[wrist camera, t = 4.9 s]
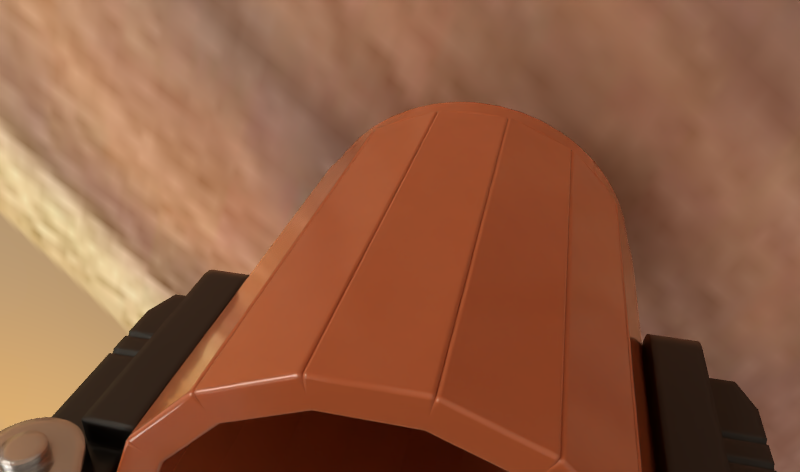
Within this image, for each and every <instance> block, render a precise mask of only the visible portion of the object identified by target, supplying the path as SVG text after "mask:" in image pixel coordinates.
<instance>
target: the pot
mask: <svg viewBox="0 0 800 472" xmlns="http://www.w3.org/2000/svg"><path fill="white" fill-rule="evenodd" d="M117 472H657V470H656V461H655V453H654V444H653V435H652V426H651V418H650V409H649V400H648V392H647V383H646V374H645V366H644V357H643V348H642V339H641V331H640V322H639V313H638V305H637V296H636V287H635V278H634V270H633V261H632V255H631V251H630V248H629V244H628V240H627V232H626V227H625V222H624V216H623V213H622V210H621V208H620V205H619V202H618V199H617V197H616V195H615V193H614V191H613V189H612V187H611V185H610V183H609V182H608V180H607V178H606V177H605V175H604V174H603V173H602V171H601V170H600V169H599V167H598V166H597V165H596V163H595V162H594V161H593V160H592V159H591V158H590V157H589V156H588V155H587V154H586V153H585V152H584V151H583V150H582V149H581V148H580V147H579V146H578V145H577V144H576V143H574V142H573V141H572V140H571V139H569V138H568V137H567V136H565V135H564V134H563V133H561V132H560V131H558V130H556V129H555V128H553V127H551V126H550V125H548V124H546V123H544V122H543V121H541V120H538V119H536V118H534V117H531V116H529V115H527V114H524V113H522V112H519V111H515V110H512V109H508V108H505V107H501V106H496V105H490V104H483V103H476V102H449V103H439V104H431V105H427V106H422V107H418V108H414V109H410V110H408V111H405V112H403V113H400V114H397V115H395V116H392V117H390V118H389V119H387V120H385V121H383V122H381V123H379V124H378V125H376V126H374V127H373V128H372V129H370V130H369V131H368V132H366V133H365V134H364V135H362V136H361V137H360V138H359V139H358V140H357V141H356V142H355V143H354V144H353V145H352V146H351V147H350V148H349V149H348V150H347V151H346V152H345V153H344V155H343V156H342V158H340V159H339V160H338V161H337V162H336V163H335V164H334V165H332V166H331V167H330V169H329V170H328V171H327V173H326V174H325V175H324V177H323V178H322V179H321V181H320V182H319V183H318V185H317V186H316V187H315V189H314V190H313V191H312V193H311V194H310V195H309V197H308V198H307V199H306V201H305V202H304V203H303V205H302V206H301V207H300V209H299V210H298V211H297V213H296V214H295V215H294V217H293V218H292V219H291V221H290V222H289V223H288V225H287V226H286V227H285V229H284V230H283V231H282V233H281V234H280V235H279V237H278V238H277V239H276V241H275V242H274V243H273V245H272V246H271V247H270V249H269V250H268V251H267V253H266V254H265V255H264V257H263V258H262V259H261V261H260V262H259V263H258V265H257V266H256V267H255V269H254V270H253V271H252V273H251V274H250V275H249V277H248V278H247V279H246V281H245V282H244V283H243V285H242V286H241V287H240V289H239V290H238V291H237V293H236V294H235V295H234V297H233V298H232V299H231V301H230V302H229V303H228V305H227V306H226V307H225V309H224V310H223V311H222V313H221V314H220V315H219V317H218V318H217V319H216V321H215V322H214V323H213V325H212V326H211V327H210V329H209V330H208V331H207V333H206V334H205V335H204V337H203V338H202V339H201V341H200V342H199V343H198V345H197V346H196V347H195V349H194V350H193V351H192V353H191V354H190V355H189V357H188V358H187V359H186V361H185V362H184V363H183V365H182V366H181V367H180V369H179V370H178V371H177V373H176V374H175V375H174V377H173V378H172V379H171V381H170V382H169V383H168V385H167V386H166V387H165V389H164V390H163V391H162V393H161V394H160V395H159V397H158V398H157V399H156V401H155V402H154V403H153V405H152V406H151V407H150V409H149V410H148V411H147V413H146V414H145V415H144V417H143V418H142V419H141V421H140V422H139V423H138V425H137V426H136V427H135V429H134V430H133V431H132V433H131V434H130V436H129V437H128V438H127V440H126V442H125V445H124V448H123V452H122V455H121V458H120V462H119V465H118V468H117Z"/></svg>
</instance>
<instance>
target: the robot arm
mask: <svg viewBox="0 0 800 472" xmlns="http://www.w3.org/2000/svg"><path fill="white" fill-rule="evenodd" d="M248 277H249V275H245V274H238V273H231V272H225V271H218V270H209V271H208V272H206V273H205V274H204V275H203V277H202V278H201V279H200V280H199V281H198V283H197V284H196V285H195V286H194V287H193V288H192V290H191V291H190V292H189V293H188V294H187V295H186V296H182V295H174V296H172V297H171V298H169V299H167V300H166V301H164V302H162V303H160V304H159V305H157V306H155V307H154V308H152V309H150V310H149V311H147V312H146V314H145V315H144V316H143V317H142V318H141V319H140V320H139V321H138V322H137V324H136V325H135V326H134V327H133V328H132V329H131V330H130V331H129V335H128V336H125V337H124V338H123V339H122V340H121V341H120V342H119V343H118V345H117V346H116V347H115V348H114V351H113V353H112V354H111V353H110V354H108V356H107V357H106V358H105V359H104V360H103V361H102V362H101V363H100V364H99V365H98V367H97V368H96V369H95V370H94V371H93V372H92V373H91V374H90V375H89V376H88V378H87V379H86V380H85V381H84V382H83V383H82V384H81V385H80V386H79V388H78V389H77V390H76V391H75V392H74V393H73V394H72V395H71V396H70V397H69V399H68V400H67V401H66V402H65V403H64V404H63V405H62V406H61V407H60V408H59V410H58V411H57V412H56V413H55V414H54V415H53V416H52V417H45V418H36V419H31V420H26V421H23V422H20V423H17V424H14V425H12V426H10V427H7V428H5V429H4V430H2V431H0V472H117V468H118V465H119V462H120V458H121V455H122V452H123V448H124V445H125V442H126V440H127V438H128V437H129V436H130V434H131V433H132V431H133V430H134V429H135V427H136V426H137V425H138V423H139V422H140V421H141V419H142V418H143V417H144V415H145V414H146V413H147V411H148V410H149V409H150V407H151V406H152V405H153V403H154V402H155V401H156V399H157V398H158V397H159V395H160V394H161V393H162V391H163V390H164V389H165V387H166V386H167V385H168V383H169V382H170V381H171V379H172V378H173V377H174V375H175V374H176V373H177V371H178V370H179V369H180V367H181V366H182V365H183V363H184V362H185V361H186V359H187V358H188V357H189V355H190V354H191V353H192V351H193V350H194V349H195V347H196V346H197V345H198V343H199V342H200V341H201V339H202V338H203V337H204V335H205V334H206V333H207V331H208V330H209V329H210V327H211V326H212V325H213V323H214V322H215V321H216V319H217V318H218V317H219V315H220V314H221V313H222V311H223V310H224V309H225V307H226V306H227V305H228V303H229V302H230V301H231V299H232V298H233V297H234V295H235V294H236V293H237V291H238V290H239V289H240V287H241V286H242V285H243V283H244V282H245V281H246V279H247V278H248ZM642 348H643V357H644V366H645V374H646V383H647V392H648V400H649V409H650V418H651V426H652V435H653V444H654V453H655V461H656V470H657V472H777V471H774V465H775V464H774V461H773V458H772V455H771V451H770V448H769V445H767V444H766V442H767V438H766V435H765V431H764V428H763V425H762V421H761V418H760V415H759V411H758V409H757V408H756V407H755V406H754V404H753V403H752V402H751V401H750V399H749V398H748V397H747V396H746V395H745V393H744V392H743V391H742V390H741V389H740V387H739V386H738V385H737V384H736V383H735V382H732V381H726V380H719V379H713V378H709V375H708V371H707V367H706V362H705V358H704V354H703V349H702V346H701V344H700V342H698V341H691V340H684V339H678V338H671V337H664V336H657V335H650V334H647V335H646V336H645V338H644V341H643V344H642Z"/></svg>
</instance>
